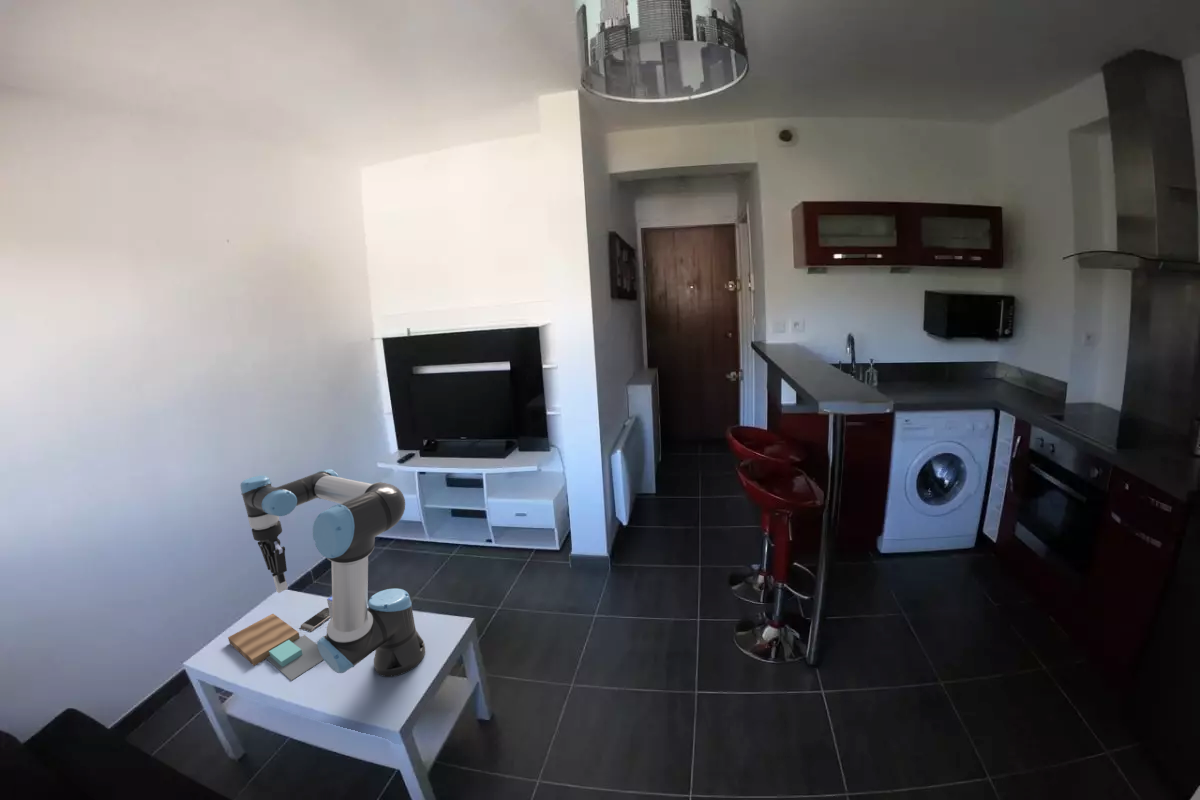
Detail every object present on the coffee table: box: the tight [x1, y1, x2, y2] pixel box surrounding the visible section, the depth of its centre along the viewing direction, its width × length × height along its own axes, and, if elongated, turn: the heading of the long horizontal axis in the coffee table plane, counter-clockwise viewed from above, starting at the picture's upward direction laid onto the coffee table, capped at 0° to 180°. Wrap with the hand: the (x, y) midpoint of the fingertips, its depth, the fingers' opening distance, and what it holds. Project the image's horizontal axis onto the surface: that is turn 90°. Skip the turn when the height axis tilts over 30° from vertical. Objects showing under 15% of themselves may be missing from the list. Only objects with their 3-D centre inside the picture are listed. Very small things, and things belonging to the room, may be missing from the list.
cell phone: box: [300, 607, 331, 632], centre depth 171 cm, size 6×11×1 cm, turn 157°
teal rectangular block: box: [269, 640, 303, 667], centre depth 154 cm, size 9×6×2 cm, turn 56°
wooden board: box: [227, 613, 300, 667], centre depth 162 cm, size 20×14×2 cm
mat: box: [265, 634, 324, 682], centre depth 153 cm, size 18×12×1 cm, turn 56°
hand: (282, 590), depth 152 cm, fingers closed
